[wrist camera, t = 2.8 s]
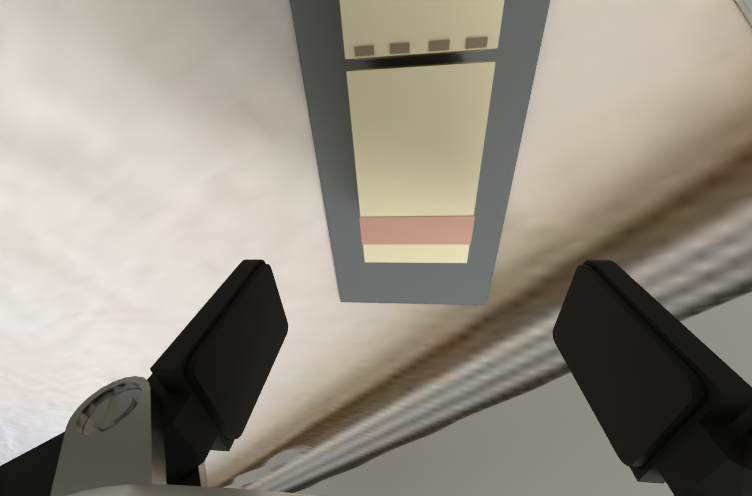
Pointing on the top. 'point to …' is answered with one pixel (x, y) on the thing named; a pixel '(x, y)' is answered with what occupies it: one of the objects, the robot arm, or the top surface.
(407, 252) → the stub
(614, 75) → the top surface
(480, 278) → the mat
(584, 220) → the top surface
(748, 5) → the supplement box
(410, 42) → the block
